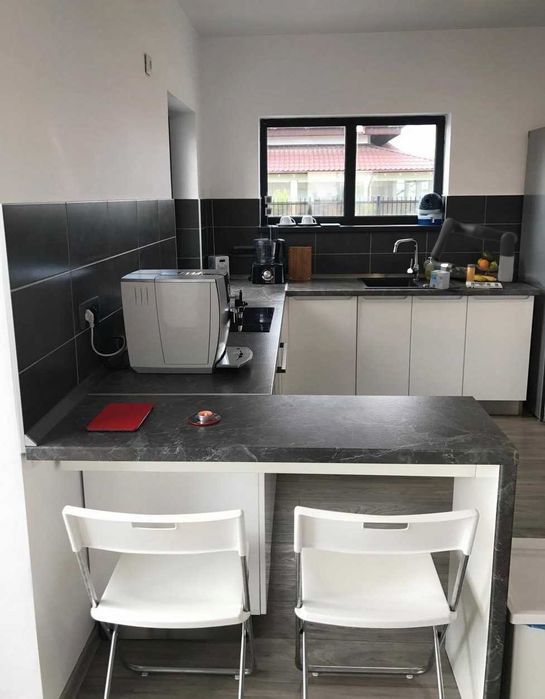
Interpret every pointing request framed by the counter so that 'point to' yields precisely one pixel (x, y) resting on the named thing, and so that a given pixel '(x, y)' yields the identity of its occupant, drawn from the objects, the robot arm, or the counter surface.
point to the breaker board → (483, 285)
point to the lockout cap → (470, 273)
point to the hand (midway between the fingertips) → (468, 271)
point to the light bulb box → (439, 279)
